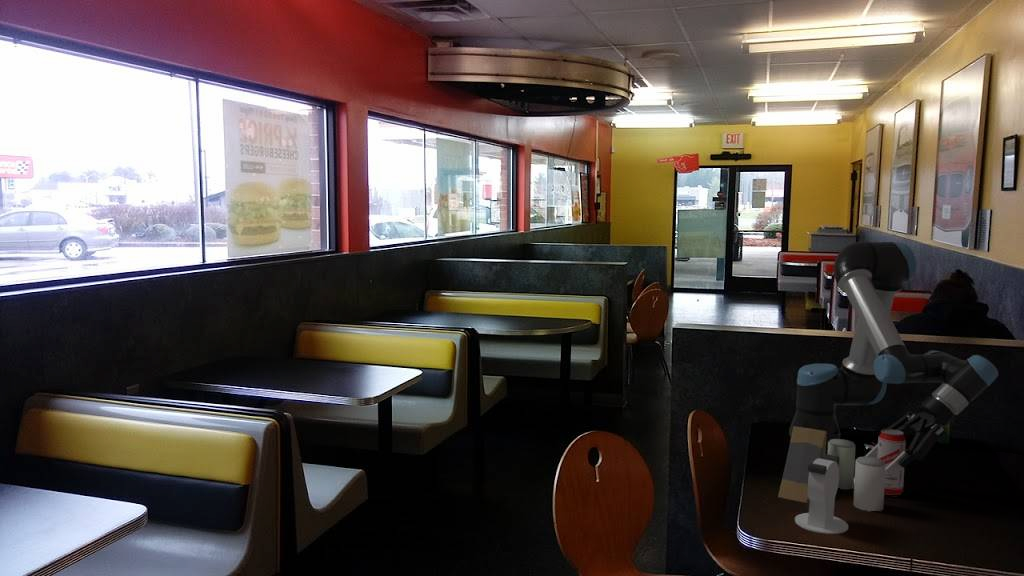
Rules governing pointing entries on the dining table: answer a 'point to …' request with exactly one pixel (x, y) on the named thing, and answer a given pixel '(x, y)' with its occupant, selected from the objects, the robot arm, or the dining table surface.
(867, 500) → the off-white tin
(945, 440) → the crayon box
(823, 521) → the white post on disc
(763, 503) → the dining table surface
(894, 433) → the beer can
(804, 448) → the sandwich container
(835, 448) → the sage tin
